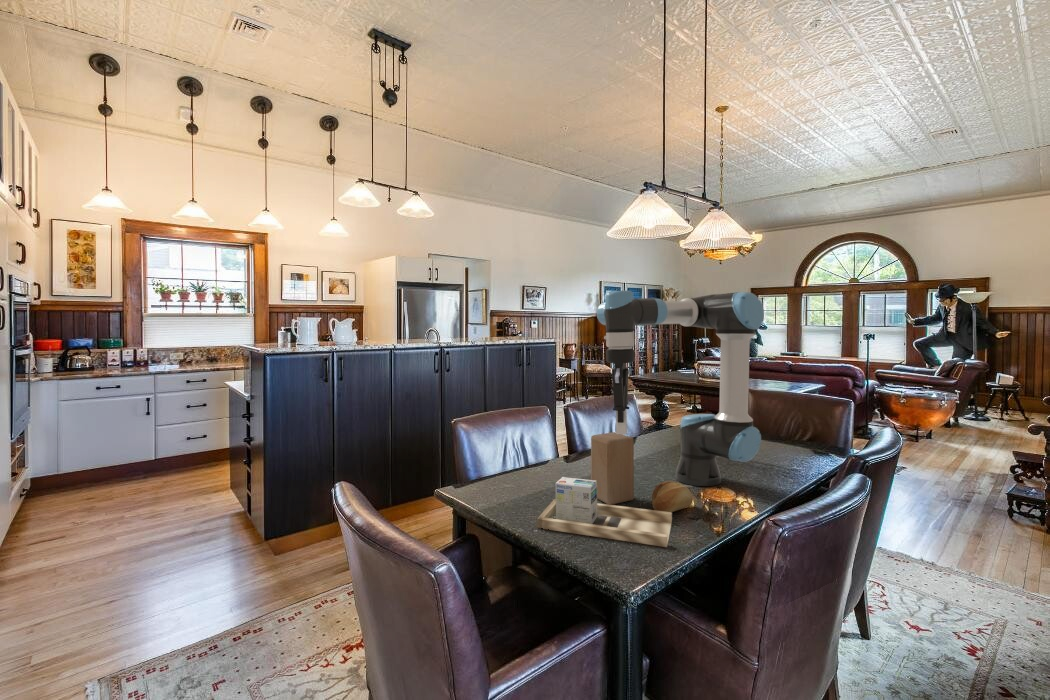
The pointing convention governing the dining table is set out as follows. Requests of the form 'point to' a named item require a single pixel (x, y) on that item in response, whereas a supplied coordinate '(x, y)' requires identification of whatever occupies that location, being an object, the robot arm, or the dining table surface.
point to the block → (613, 467)
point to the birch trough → (615, 524)
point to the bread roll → (671, 497)
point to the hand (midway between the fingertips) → (621, 433)
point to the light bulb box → (576, 500)
